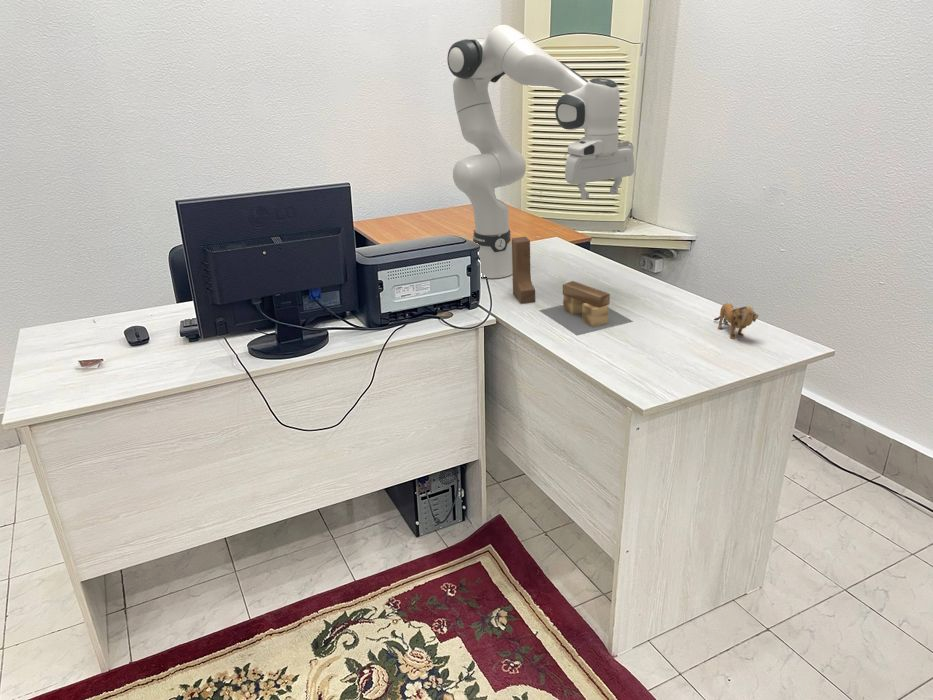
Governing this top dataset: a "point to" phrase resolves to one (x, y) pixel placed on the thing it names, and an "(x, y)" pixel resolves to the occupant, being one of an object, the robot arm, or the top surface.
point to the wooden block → (522, 271)
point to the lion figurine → (736, 318)
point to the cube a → (572, 305)
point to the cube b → (594, 314)
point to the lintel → (586, 294)
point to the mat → (576, 323)
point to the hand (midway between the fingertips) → (599, 196)
